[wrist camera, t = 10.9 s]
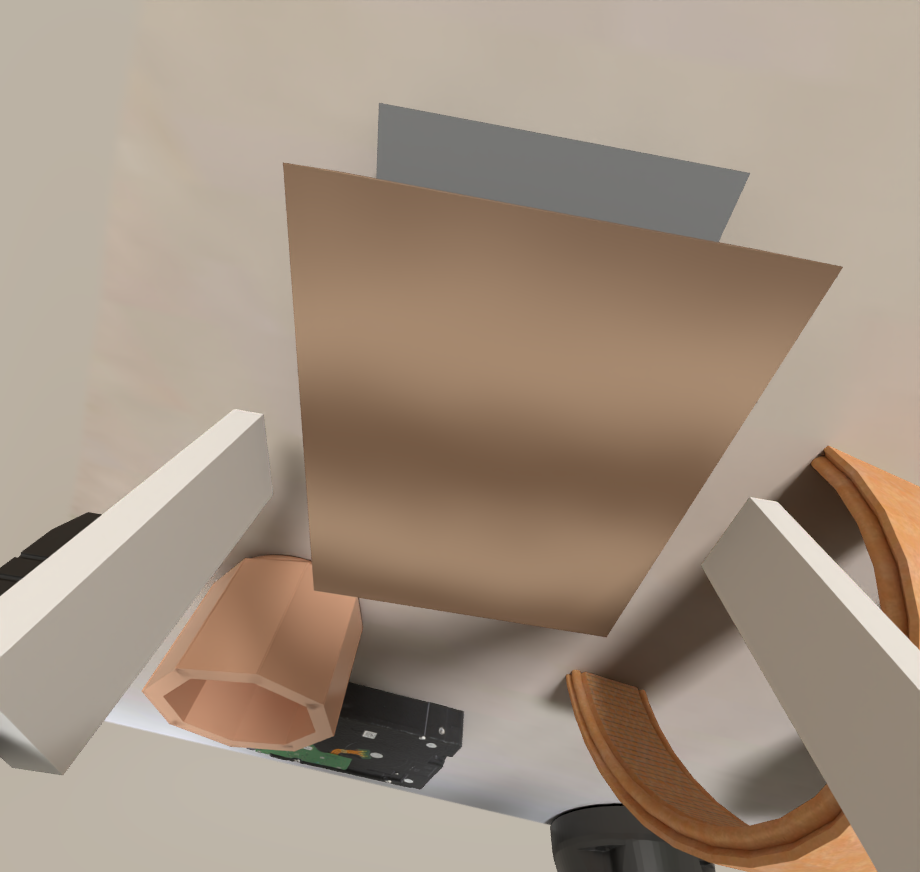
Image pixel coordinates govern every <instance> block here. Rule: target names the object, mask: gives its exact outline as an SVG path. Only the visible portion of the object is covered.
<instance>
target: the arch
mask: <svg viewBox="0 0 920 872" xmlns="http://www.w3.org/2000/svg"><path fill="white" fill-rule="evenodd" d="M824 452H825V457H824V456H820V457H817V458H815V459H814V460H813V461H812V462H811V465H812V467H813V468H814V469H815V470H816V471H817V472H818V473H819V474H820V475H821V476H822V477H823V478H825V479H826V480H827V481H828V482H829V483H830V484H831V485H832V486H833V487H834V488H835V489H836V491H837V493H838V494H839V496H840V497H841V499H842V500H843V502H844V504H845V505H846V507H847V508H848V510H849V511H850V513H851V515H852V516H853V518H854V519H855V521H856V523H857V525H858V527H859V530H860V532H861V535H862V538H863V540H864V543H865V545H866V548H867V551H868V553H869V556H870V558H871V561H872V563H873V566H874V572H875V577H876V583H877V589H878V595H879V600H880V606H881V610H882V612H883V613H884V614H885V615H886V616H887V617H888V618H889V619H890V620H891V621H892V622H893V623H894V624H895V625H896V626H897V627H898V628H899V629H900V630H901V631H902V632H903V633H904V635H905V636H906V637H907V638H908V639H909V640H910V641H911V642H912V643H913V644H914V645H915V646H916V647H917V648H918V649H919V650H920V487H919V486H917V485H914V484H912V483H910V482H908V481H905V480H903V479H901V478H899V477H897V476H894V475H892V474H890V473H888V472H886V471H883V470H881V469H879V468H877V467H874V466H872V465H870V464H868V463H866V462H863V461H861V460H859V459H857V458H855V457H852V456H850V455H848V454H846V453H843V452H841V451H839V450H837V449H835V448H832V447H830V446H827V447H826V448H825V449H824ZM571 673H572V674H567V675H566V681H567V688H568V692H569V695H570V699H571V703H572V707H573V711H574V715H575V718H576V720H577V723H578V726H579V729H580V731H581V734H582V737H583V739H584V742H585V744H586V746H587V748H588V750H589V752H590V754H591V756H592V758H593V760H594V762H595V764H596V766H597V768H598V770H599V772H600V773H601V775H602V776H603V778H604V779H605V781H606V782H607V783H608V785H609V786H610V788H611V789H612V791H613V792H614V794H615V795H616V796H617V798H618V799H619V801H620V802H621V803H622V804H623V805H624V806H625V807H626V808H627V809H628V810H629V811H630V812H631V813H632V814H633V815H634V816H635V817H636V818H637V819H638V820H639V821H640V823H641V824H642V825H643V826H645V827H646V828H647V829H649V830H650V831H652V832H653V833H654V834H656V835H657V836H659V837H660V838H661V839H663V840H664V841H666V842H667V843H668V844H670V845H671V846H672V847H674V848H676V849H679V850H681V851H683V852H686V853H688V854H690V855H693V856H695V857H698V858H700V859H702V860H705V861H707V862H710V863H713V864H717V865H722V866H726V867H730V868H734V869H738V870H743V871H747V872H878V871H877V870H876V868H875V866H874V864H873V863H872V861H871V859H870V858H869V856H868V854H867V852H866V851H865V849H864V847H863V845H862V844H861V842H860V840H859V839H858V837H857V835H856V833H855V832H854V830H853V828H852V826H851V825H850V823H849V821H848V819H847V818H846V816H845V814H844V813H843V811H842V809H841V807H840V806H839V804H838V802H837V800H836V799H835V797H834V795H833V794H832V792H831V790H830V788H829V787H828V785H827V784H826V785H825V786H824V787H823V788H822V789H821V790H820V792H819V793H818V794H817V795H816V796H815V797H814V798H812V799H811V800H809V801H807V802H806V803H804V804H802V805H801V806H799V807H797V808H796V809H794V810H793V811H791V812H789V813H788V814H786V815H784V816H783V817H781V818H779V819H775V820H771V821H767V822H763V823H759V824H755V825H751V826H749V825H748V824H746V823H744V822H743V821H741V820H740V819H739V818H738V817H736V816H735V815H734V814H732V813H731V812H730V811H728V810H727V809H726V808H724V807H723V806H722V805H720V804H719V803H718V802H717V801H716V800H715V799H714V798H713V797H712V796H711V795H710V794H709V793H708V792H707V791H706V790H705V789H704V788H703V787H702V786H701V785H700V784H699V783H698V782H697V781H696V780H695V779H694V778H693V777H692V775H691V774H690V773H689V771H688V770H687V769H686V767H685V766H684V765H683V763H682V762H681V761H680V760H679V758H678V757H677V756H676V754H675V753H674V751H673V750H672V748H671V746H670V744H669V743H668V741H667V739H666V737H665V736H664V734H663V732H662V731H661V729H660V727H659V725H658V722H657V720H656V718H655V716H654V713H653V711H652V709H651V706H650V704H649V702H648V699H647V695H646V692H645V691H644V690H638V688H637V687H633V686H630V685H627V684H624V683H620V682H617V681H614V680H610V679H607V678H604V677H601V676H597V675H594V674H591V673H588V672H584V673H580V671H579V670H573V671H572V672H571Z"/></svg>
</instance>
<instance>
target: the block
mask: <svg viewBox="0 0 920 872" xmlns="http://www.w3.org/2000/svg"><path fill="white" fill-rule="evenodd" d="M749 175H750V173H747V172H741V171H736V170H731V169H726V168H720V167H715V166H710V165H705V164H699V163H694V162H689V161H683V160H678V159H673V158H668V157H662V156H657V155H652V154H646V153H641V152H636V151H631V150H625V149H620V148H615V147H610V146H604V145H599V144H594V143H588V142H583V141H578V140H573V139H567V138H562V137H557V136H551V135H546V134H541V133H536V132H530V131H525V130H520V129H515V128H509V127H504V126H499V125H493V124H488V123H483V122H478V121H472V120H467V119H462V118H456V117H451V116H446V115H441V114H435V113H430V112H425V111H420V110H414V109H409V108H404V107H398V106H393V105H388V104H383V103H379V118H378V148H377V179H382V180H387V181H393V182H398V183H403V184H409V185H414V186H420V187H425V188H430V189H436V190H441V191H446V192H452V193H457V194H462V195H468V196H473V197H479V198H484V199H489V200H495V201H500V202H505V203H511V204H516V205H521V206H527V207H532V208H538V209H543V210H548V211H554V212H559V213H564V214H570V215H575V216H580V217H586V218H591V219H597V220H602V221H607V222H613V223H618V224H623V225H629V226H634V227H639V228H645V229H650V230H656V231H661V232H666V233H672V234H677V235H682V236H688V237H693V238H698V239H704V240H709V241H715V242H719V240H720V237H721V235H722V233H723V231H724V229H725V227H726V224H727V222H728V220H729V218H730V216H731V214H732V212H733V209H734V207H735V205H736V203H737V201H738V199H739V196H740V194H741V192H742V190H743V188H744V186H745V183H746V181H747V179H748V177H749Z"/></svg>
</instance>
